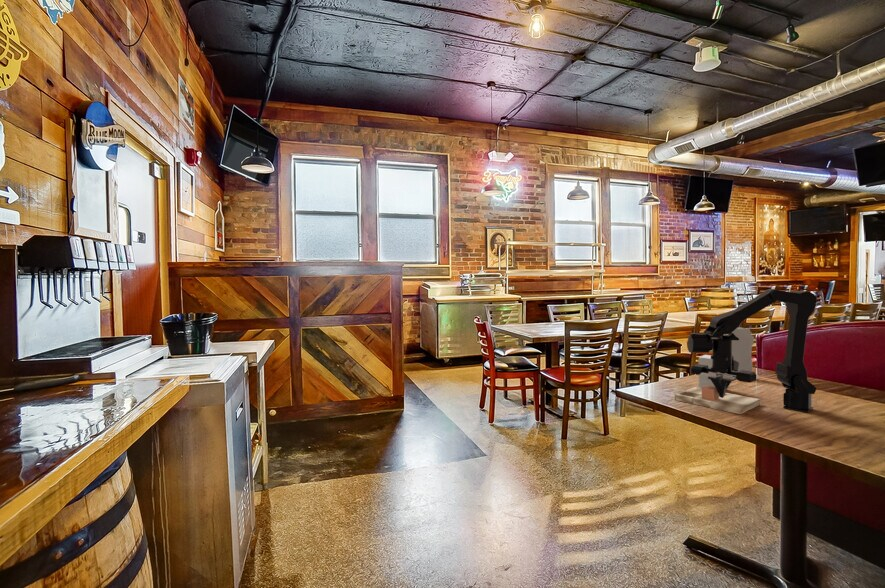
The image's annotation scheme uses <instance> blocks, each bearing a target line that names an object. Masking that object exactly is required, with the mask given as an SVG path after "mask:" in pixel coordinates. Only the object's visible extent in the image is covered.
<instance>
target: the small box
mask: <svg viewBox="0 0 885 588" xmlns="http://www.w3.org/2000/svg"><path fill="white" fill-rule="evenodd" d="M711 356H712V354H703V355H700V356H699V357H698V364H701V365H708V367H709V368H711V367H712V359H711ZM719 373H720V372H719ZM720 376H722V375H720ZM708 377H709V373H701V374H700V375H698V388H702V387H704V386H706V385H708V386H713V387H715V386H714V384H713V383H712V381H711V380H710V379H708Z"/></svg>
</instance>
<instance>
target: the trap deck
mask: <svg viewBox="0 0 885 588" xmlns="http://www.w3.org/2000/svg"><path fill="white" fill-rule="evenodd" d="M760 400H761V399H760V398H755V397H750V396H745V395H740V394H735V393H729V392H726V393H725V395H724V397H723V398H721V397H720V396H719V399H717V400H715V401H712V400H707V399H702V388H698V387H696V386H694V387H692V388H689V389H686V390H684V391H681V392H678V393H675V394H674V401H677V402H678V401H679V402H683V403H688V404H690V405H691V404H692V405H697V406H701V407H704V408H705V407H706V408H710V409H715V410H719V411H722V412H724V411H725V412H729V413H733V414H738V415H742V414H744V413H746V412H748V411H750V410H752V409H754V408H756V407H759V406H760V405H761V401H760Z"/></svg>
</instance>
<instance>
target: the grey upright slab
mask: <svg viewBox="0 0 885 588" xmlns="http://www.w3.org/2000/svg"><path fill="white" fill-rule="evenodd" d="M732 333H734V335H735V336H736V337H738V338H739V340H732V356H733V357H734V360H735V361H737V362H739V367H738V371H732V372H739V371H742V370H744V371H751V372H753V371H754V369H753V360H752V351H753V350H752V349H753V345H754V343H755V342H754V341H755V340H754V339H755V336H754V335H752V333H751V329H750V328H746V327H745V328H744V327H740V326H739V327H738V328H737V329H735V330H734V331H733V332H732ZM725 335H728V334H725ZM726 374H727V373H726Z"/></svg>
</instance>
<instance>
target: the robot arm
mask: <svg viewBox="0 0 885 588" xmlns="http://www.w3.org/2000/svg"><path fill="white" fill-rule="evenodd" d="M776 302H779V303H784V304H785V308H786V311H787V313H788V316H789V320H788V321H789V322H788V329H787V338H786V339H787V340H786V347H785V353H784V354H785V355H784V359H783V360H782V361H781V362H779V361H777V362H776V365H775V366H776V368H775V372H774V374H775V375H776V378H777V380H778V381H779V383H780V382H781V384H782V386H783V388H786V389H785V391H784V392H783V395H782V396H783V397H782V398H783V400H782V401H783V408H784V409H787V410H791V411H792V410H793V411H798V412H803V413H809V412H811V411H812V410H813V409H814V407H813V406H812V401H813V400H812V395H814V394H815V393H816V391H817V387H816V386H815V385H814V384H813V383H811V382H810V381H809V380H808V370H807V368H806V366H805V362H804V357H805V356H804V355H805V350H806V339H807V332H808V325H809V324H808V323H809V319H810V317H811V316H812V315H813V313H814V312H815V310H816V307H817V304H818V298H817V296H816V295H815V294H814V292H811V291H801V290H792V291H786V290H780V289H776V288H767V289H766V290H765V291H763V292H762V293H760V294H759V295H757V296H755V297H753V298H752V299H750V300H749V301H747V302H745V303H743V304H742V305H740V306H739V307H737V308H735V309H733V310H731V311H727V312H724V313H721V314H718V315H716V316H713V317H712V318H711V319H710V321H709V325H708V326H707V327H706V329H705V330H704V331H702V333H695V332H690V333H689V336H688V338H687V341H686V347H687V350H688V352H689V354H690V353H691V354H692V353H694V354H696V353H697V354H698V353H701V354H702V353H703V354H704V353H705V354H706V353H710V352H711V355H712V356H711V359H712V367H711V368H709V367H708V365H701V364H699V363H697V364H694V365H691V366H690V369H689V372H690V374H692V375H697V376H699V375H700V374H701V373H709V377H708V379H710V380H711V381H712V383H713V384H714V386H715V388H716V390H717V392H718V394H719V396H720V397H721V398H723V397H724V395H725V393H727V391H728V388H729V386H730V385H731V383H732V382H734V381H736V380H737V381H738V382H742V383H747V384H748V383H753V382H755V381H757V377H758V376H757V374H756V373H755V371H752V372H751V371H744V370H742V371H739V372H732V371H738V367H739V362H737V361H735V360H734V357H733V356H732V340H739V338H738V337H736V336H735V335H734V333H732V332H733V331H734V330H735V329H737V328H738V327H740V326H741V324H742V323H743V322H744V321H746V320H747V319H748V318H750V317H752V316H753V315H756V314H757V313H759V312H760V311H762V310H764V309H765V308H767V307H769V306H771V305H772V304H774V303H776ZM726 334H728V335H726ZM719 372H720V373H719ZM726 373H727V374H726ZM720 375H722V376H720Z"/></svg>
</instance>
